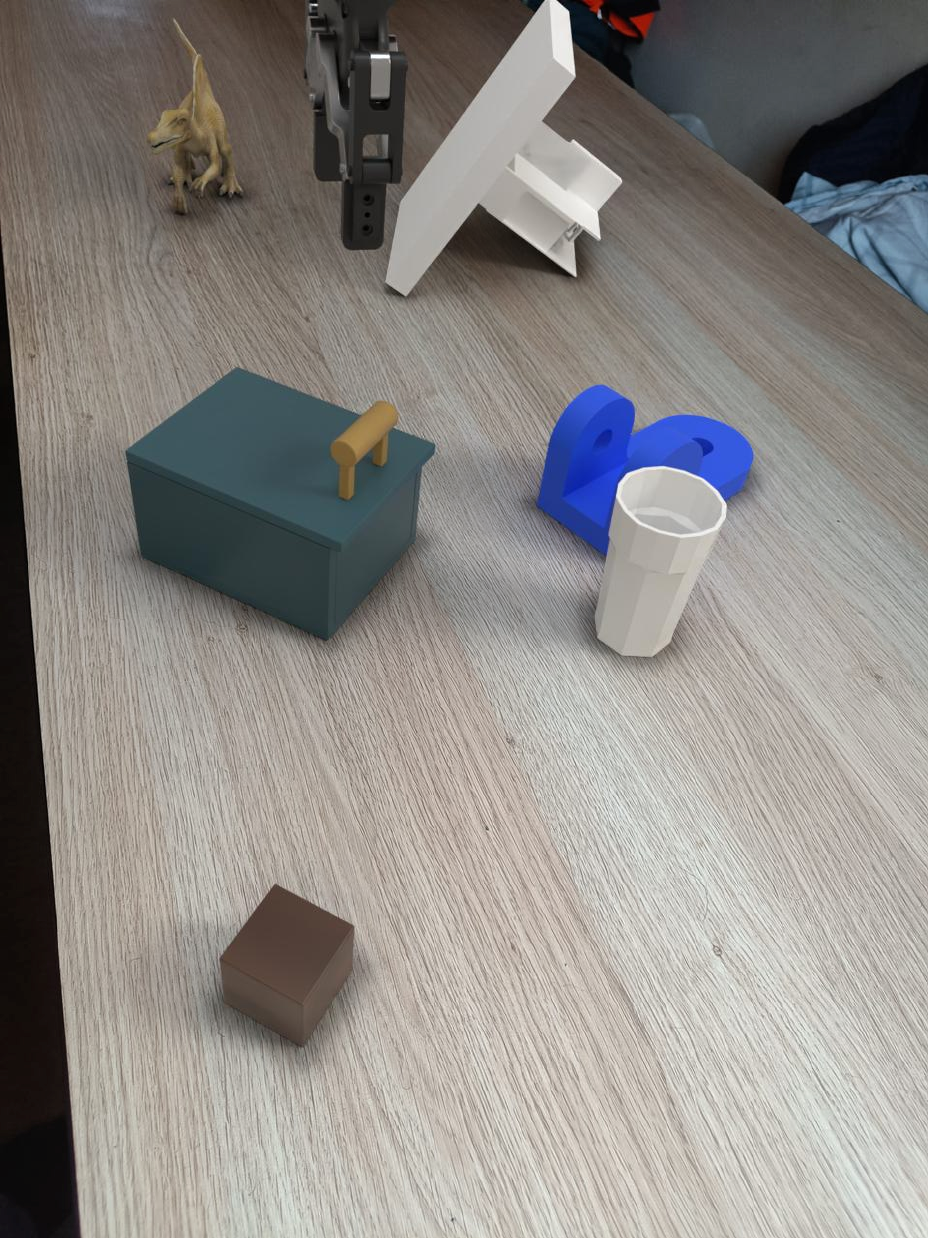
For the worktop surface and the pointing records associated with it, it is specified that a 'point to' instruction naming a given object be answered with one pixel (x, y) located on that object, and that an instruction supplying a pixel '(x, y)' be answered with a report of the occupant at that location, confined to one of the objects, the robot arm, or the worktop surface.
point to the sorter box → (268, 551)
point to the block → (287, 964)
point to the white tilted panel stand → (508, 162)
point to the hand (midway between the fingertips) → (346, 211)
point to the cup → (654, 556)
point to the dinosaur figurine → (195, 136)
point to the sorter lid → (286, 456)
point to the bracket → (628, 458)
